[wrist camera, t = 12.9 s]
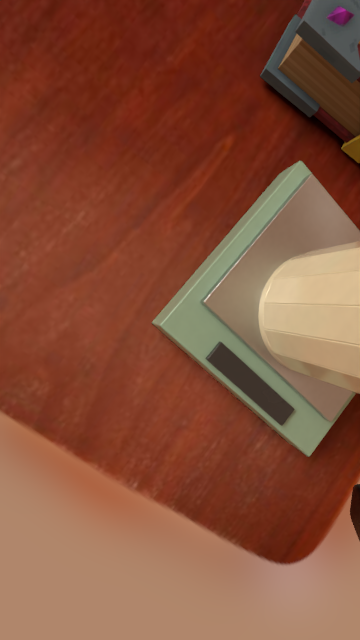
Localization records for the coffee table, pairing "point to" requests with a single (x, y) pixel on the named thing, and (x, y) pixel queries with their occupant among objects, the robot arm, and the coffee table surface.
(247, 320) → the scale
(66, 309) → the coffee table surface
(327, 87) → the decorative book
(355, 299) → the cup
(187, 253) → the coffee table surface
